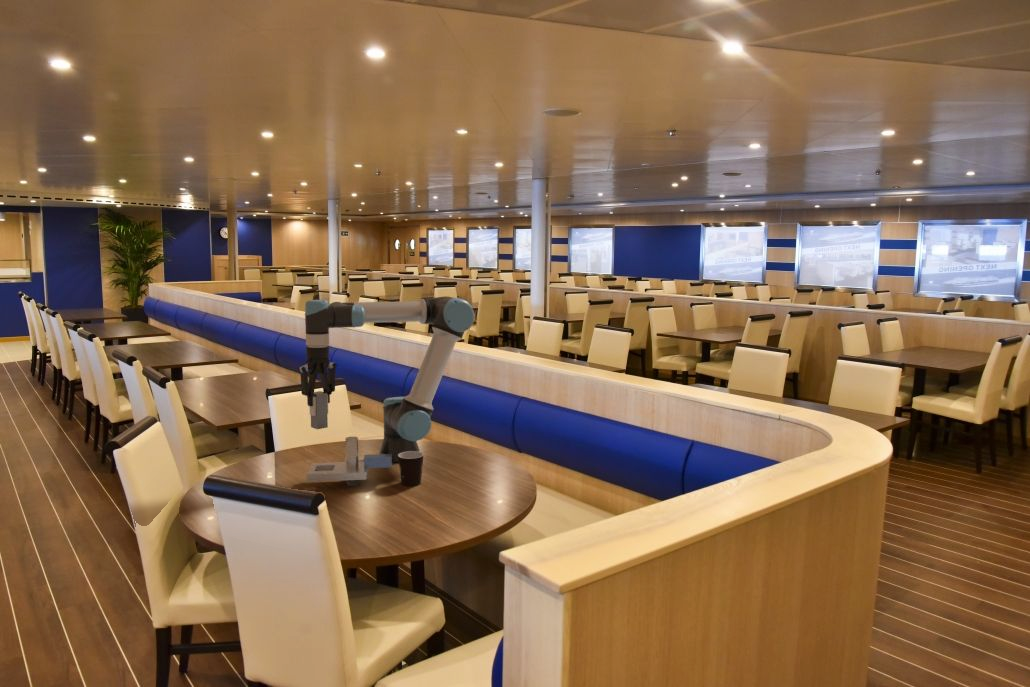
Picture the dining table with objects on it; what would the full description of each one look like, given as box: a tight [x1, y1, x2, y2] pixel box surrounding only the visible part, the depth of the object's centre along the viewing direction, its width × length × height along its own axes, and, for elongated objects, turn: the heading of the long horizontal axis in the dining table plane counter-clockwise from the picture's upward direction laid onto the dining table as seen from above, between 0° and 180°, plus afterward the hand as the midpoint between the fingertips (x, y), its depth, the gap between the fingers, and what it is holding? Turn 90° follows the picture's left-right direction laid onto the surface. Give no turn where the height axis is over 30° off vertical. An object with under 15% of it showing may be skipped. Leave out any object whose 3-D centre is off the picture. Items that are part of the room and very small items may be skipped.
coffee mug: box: [398, 451, 425, 488], centre depth 238 cm, size 12×9×10 cm
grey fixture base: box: [306, 436, 393, 487], centre depth 235 cm, size 27×12×16 cm, turn 98°
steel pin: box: [310, 390, 329, 430], centre depth 238 cm, size 4×4×12 cm
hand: (319, 413), depth 238 cm, fingers closed on steel pin, 4 cm apart
